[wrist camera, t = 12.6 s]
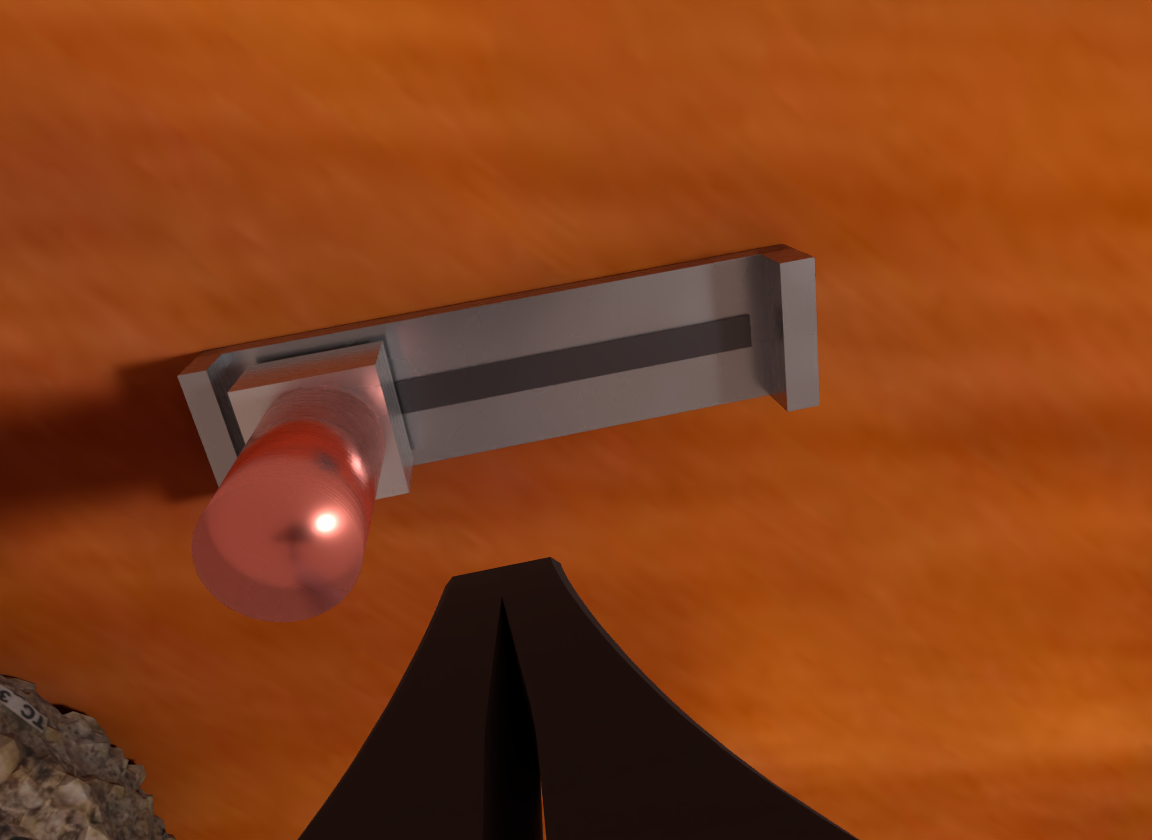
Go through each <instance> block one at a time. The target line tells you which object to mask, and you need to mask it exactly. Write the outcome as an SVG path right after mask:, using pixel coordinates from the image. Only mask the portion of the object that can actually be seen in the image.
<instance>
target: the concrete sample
mask: <svg viewBox="0 0 1152 840" xmlns="http://www.w3.org/2000/svg"><path fill="white" fill-rule="evenodd" d="M35 689H36V684H33V683H30V682H27V681H24V680H20V679H17V678H11V677H4V676H3V675H1V674H0V840H176V839H175V837H174V836H173V835H171V834H167V832H166V829H165V824H164V820H163V819H161V818H160V817H158V816H156V815H154V811H153V795H149V794H145V791H143V790H142V789H141V788H139V787H140V785H141V784H142V782H143V780H144V779H145V777H146V774H145V770H144V767H143V765H129V764H128V761H129V760H128V759H126V758H125V757H124V754H123V751H122V749H121V748H114V747H111V746H110V739H109V738H108V737H107V736H106V732H105V731H104V730H103V729H102V728H101V727H100V726H99V725H98V723H97V722H96V720H95V718H92V717H89V716H86V715H83V714H80V713H77V712H74V711H73V712H70V713H67V714H64V715H62V714H61V713H60V712H59V710H58V709H57V708H55V707H53V706H52V705H51V704H50V703H48V702H47V701H46V700H44V699H42V698H41V697H40V696H39V695H38V694H37V693H36V692H35Z"/></svg>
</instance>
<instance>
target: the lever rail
mask: <svg viewBox="0 0 1152 840" xmlns="http://www.w3.org/2000/svg"><path fill="white" fill-rule="evenodd" d="M378 341H383V344H384V347H385V351H386V355H387V359H388V363H389V367H390V371H391V374H392V378H393V382H394V386H395V390H396V394H397V398H398V401H399V405H400V409H401V413H402V417H403V421H404V425H405V428H406V432H407V436H408V440H409V444H410V448H411V452H412V455H413V465H418V464H423V463H428V462H433V461H438V460H443V459H448V458H453V457H458V456H463V455H468V454H473V453H478V452H483V451H488V450H493V449H498V448H504V447H509V446H514V445H519V444H524V443H529V442H534V441H539V440H544V439H549V438H554V437H559V436H564V435H569V434H574V433H579V432H584V431H589V430H594V429H599V428H604V427H609V426H614V425H619V424H624V423H629V422H634V421H640V420H645V419H650V418H655V417H660V416H665V415H670V414H675V413H680V412H685V411H690V410H695V409H700V408H705V407H710V406H715V405H720V404H725V403H730V402H735V401H740V400H745V399H750V398H755V397H760V396H765V395H770V396H771V397H772V398H773V399H774V400H776V401H777V402H778V403H779V404H780V405H781V406H782V407H783V408H784V409H785V410H786V411H787V412H788V411H793V410H798V409H803V408H808V407H813V406H818V405H819V376H818V347H817V319H816V290H815V261H814V257H813V256H810V255H808V254H806V253H803V252H801V251H799V250H796V249H794V248H792V247H789V246H787V245H784V244H781V245H776V246H771V247H765V248H760V249H754V250H749V251H744V252H738V253H733V254H727V255H722V256H716V257H711V258H706V259H700V260H695V261H689V262H684V263H678V264H673V265H668V266H662V267H657V268H651V269H646V270H641V271H635V272H630V273H624V274H619V275H613V276H608V277H603V278H597V279H592V280H586V281H581V282H575V283H570V284H565V285H559V286H554V287H548V288H543V289H538V290H532V291H527V292H521V293H516V294H510V295H505V296H500V297H494V298H489V299H483V300H478V301H472V302H467V303H462V304H456V305H451V306H445V307H440V308H434V309H429V310H424V311H418V312H413V313H407V314H402V315H397V316H391V317H386V318H380V319H375V320H369V321H364V322H359V323H353V324H348V325H342V326H337V327H331V328H326V329H321V330H315V331H310V332H304V333H299V334H294V335H288V336H283V337H277V338H272V339H266V340H261V341H256V342H250V343H245V344H239V345H234V346H228V347H223V348H218V349H212V350H207V351H202V352H201V353H200V354H199V355H198V356H197V357H196V358H195V359H194V360H193V361H192V362H191V363H190V364H189V365H188V366H187V367H186V368H185V369H184V370H183V371H182V372H181V373H180V374H179V375H178V376H177V377H178V379H179V382H180V385H181V387H182V390H183V393H184V395H185V398H186V401H187V403H188V406H189V409H190V411H191V414H192V417H193V420H194V422H195V425H196V428H197V430H198V433H199V436H200V438H201V441H202V444H203V446H204V449H205V452H206V454H207V457H208V460H209V463H210V465H211V468H212V471H213V473H214V476H215V479H216V481H217V484H218V487H219V486H220V485H221V483H222V481H223V480H224V478H225V477H226V475H227V473H228V472H229V470H230V469H231V467H232V465H233V464H234V462H235V461H236V459H237V457H238V456H239V454H240V453H241V451H242V449H243V448H244V446H245V442H244V439H243V436H242V433H241V430H240V428H239V425H238V422H237V419H236V416H235V413H234V410H233V407H232V405H231V402H230V399H229V396H228V393H227V392H228V391H229V390H230V389H231V387H232V386H233V385H234V384H235V382H236V381H237V380H238V379H239V377H240V376H241V375H242V374H243V372H244V371H245V370H246V369H247V367H248V366H249V365H255V364H260V363H265V362H271V361H276V360H282V359H287V358H292V357H298V356H303V355H308V354H314V353H319V352H324V351H330V350H335V349H341V348H346V347H351V346H357V345H362V344H367V343H373V342H378Z"/></svg>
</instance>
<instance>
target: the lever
mask: <svg viewBox="0 0 1152 840" xmlns="http://www.w3.org/2000/svg"><path fill="white" fill-rule="evenodd" d="M227 393H228V396H229V399H230V402H231V405H232V407H233V410H234V413H235V416H236V419H237V422H238V425H239V428H240V430H241V433H242V436H243V439H244V442H245V446H244V448H243V449H242V451H241V453H240V454H239V456H238V457H237V459H236V461H235V462H234V464H233V465H232V467H231V469H230V470H229V472H228V473H227V475H226V477H225V478H224V480H223V481H222V483H221V485H220V486H219V488H218V489H217V491H216V493H215V494H214V496H213V497H212V499H211V501H210V502H209V504H208V506H207V507H206V509H205V510H204V512H203V514H202V515H201V517H200V519H199V521H198V523H197V525H196V527H195V530H194V533H193V539H192V556H193V562H194V565H195V568H196V571H197V573H198V575H199V577H200V579H201V581H202V582H203V584H204V585H205V587H206V588H207V589H208V590H209V591H210V593H211V594H212V595H213V596H214V597H215V598H217V599H218V600H219V601H220V602H221V603H223V604H224V605H226V606H227V607H229V608H230V609H232V610H234V611H236V612H238V613H240V614H243V615H245V616H248V617H251V618H255V619H259V620H264V621H271V622H292V621H299V620H304V619H308V618H311V617H314V616H317V615H319V614H322V613H324V612H325V611H327V610H329V609H331V608H332V607H334V606H335V605H337V604H338V603H339V602H340V601H341V600H342V599H343V598H345V597H346V595H347V594H348V593H349V592H350V591H351V589H352V588H353V586H354V584H355V583H356V581H357V578H358V576H359V574H360V570H361V566H362V562H363V557H364V552H365V547H366V542H367V537H368V532H369V528H370V523H371V518H372V513H373V508H374V503H375V499H380V498H385V497H390V496H395V495H400V494H405V493H409V491H410V483H411V474H412V466H413V455H412V452H411V448H410V444H409V440H408V436H407V432H406V428H405V425H404V421H403V417H402V413H401V409H400V405H399V401H398V398H397V394H396V390H395V386H394V382H393V378H392V374H391V371H390V367H389V363H388V359H387V355H386V351H385V347H384V344H383V341H378V342H373V343H367V344H362V345H357V346H351V347H346V348H341V349H335V350H330V351H324V352H319V353H314V354H308V355H303V356H298V357H292V358H287V359H282V360H276V361H271V362H265V363H260V364H255V365H249V366H248V367H247V369H246V370H245V371H244V372H243V374H242V375H241V376H240V377H239V379H238V380H237V381H236V382H235V384H234V385H233V386H232V387H231V389H230V390H229V391H228V392H227Z"/></svg>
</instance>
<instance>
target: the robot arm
mask: <svg viewBox="0 0 1152 840" xmlns="http://www.w3.org/2000/svg"><path fill="white" fill-rule="evenodd" d="M540 776H541V778H540ZM541 786H542V796H543V806H544V817H545V828H546V839H547V840H859V839H857V838H856V837H854V836H853V835H851V834H850V833H848V832H847V831H845V830H844V829H842V828H841V827H839V826H838V825H836V824H834V823H833V822H831V821H830V820H828V819H827V818H825V817H824V816H822V815H821V814H819V813H818V812H816V811H815V810H813V809H812V808H810V807H809V806H807V805H806V804H804V803H803V802H801V801H800V800H798V799H797V798H795V797H793V796H792V795H790V794H789V793H787V792H786V791H784V790H783V789H781V788H780V787H778V786H777V785H775V784H774V783H772V782H771V781H770V780H768V779H767V778H765V777H764V776H763V775H762V774H760V773H759V772H758V771H756V770H755V769H754V768H752V767H751V766H750V765H748V764H747V763H746V762H744V761H743V760H742V759H740V758H739V757H738V756H736V755H735V754H734V753H732V752H731V751H730V750H729V749H727V748H726V747H725V746H724V745H722V744H721V743H720V742H719V741H718V740H716V739H715V738H714V737H713V736H712V735H710V734H709V733H708V732H707V731H705V730H704V729H703V728H702V727H701V726H699V725H698V724H697V723H696V722H695V721H694V720H693V719H691V718H690V717H689V716H688V715H687V714H686V713H685V712H683V711H682V710H681V709H680V708H679V707H678V706H677V705H676V704H675V703H674V702H673V701H672V700H670V699H669V698H668V697H667V696H666V695H665V694H664V693H663V692H662V691H661V690H660V689H659V688H658V687H657V686H656V685H655V684H654V683H653V682H652V681H651V680H650V679H649V678H648V677H647V676H646V675H645V674H644V673H643V672H642V671H641V670H640V669H639V668H638V667H637V666H636V665H635V664H634V662H633V661H632V660H631V659H630V658H629V657H628V656H627V655H626V654H625V653H624V652H623V650H622V649H621V648H620V647H619V646H618V645H617V643H616V642H615V641H614V640H613V639H612V638H611V637H610V635H609V634H608V633H607V632H606V631H605V630H604V628H603V627H602V626H601V625H600V624H599V622H598V621H597V620H596V619H595V617H594V616H593V615H592V614H591V612H590V611H589V609H588V608H587V607H586V605H585V604H584V603H583V601H582V600H581V598H580V597H579V596H578V594H577V593H576V591H575V590H574V588H573V587H572V585H571V583H570V582H569V580H568V578H567V576H566V575H565V573H564V571H563V569H562V566H561V564H560V563H559V562H557V561H556V560H554V559H553V558H551V557H548V558H543V559H538V560H533V561H528V562H523V563H518V564H513V565H508V566H503V567H498V568H494V569H489V570H484V571H479V572H474V573H469V574H464V575H459V576H454V577H452V578H451V580H450V581H449V582H448V584H447V585H446V586H445V589H444V591H443V594H442V596H441V599H440V601H439V603H438V606H437V608H436V611H435V613H434V615H433V617H432V620H431V622H430V624H429V626H428V628H427V630H426V632H425V635H424V637H423V639H422V641H421V643H420V645H419V647H418V649H417V651H416V653H415V655H414V657H413V659H412V661H411V662H410V664H409V666H408V668H407V670H406V672H405V674H404V676H403V678H402V679H401V681H400V683H399V685H398V687H397V689H396V691H395V693H394V694H393V696H392V698H391V700H390V702H389V703H388V705H387V707H386V708H385V710H384V712H383V713H382V715H381V717H380V718H379V720H378V722H377V723H376V725H375V726H374V728H373V730H372V731H371V733H370V735H369V736H368V738H367V740H366V741H365V743H364V744H363V746H362V748H361V749H360V751H359V753H358V754H357V756H356V758H355V759H354V761H353V762H352V764H351V765H350V767H349V768H348V770H347V771H346V773H345V774H344V776H343V777H342V779H341V780H340V782H339V783H338V785H337V786H336V788H335V789H334V790H333V792H332V793H331V795H330V796H329V797H328V799H327V800H326V802H325V803H324V805H323V806H322V807H321V809H320V810H319V811H318V813H317V814H316V815H315V817H314V818H313V820H312V821H311V822H310V824H309V825H308V826H307V828H306V829H305V830H304V832H303V833H302V834H301V836H300V837H299V838H298V840H543V827H542V802H541Z"/></svg>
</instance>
